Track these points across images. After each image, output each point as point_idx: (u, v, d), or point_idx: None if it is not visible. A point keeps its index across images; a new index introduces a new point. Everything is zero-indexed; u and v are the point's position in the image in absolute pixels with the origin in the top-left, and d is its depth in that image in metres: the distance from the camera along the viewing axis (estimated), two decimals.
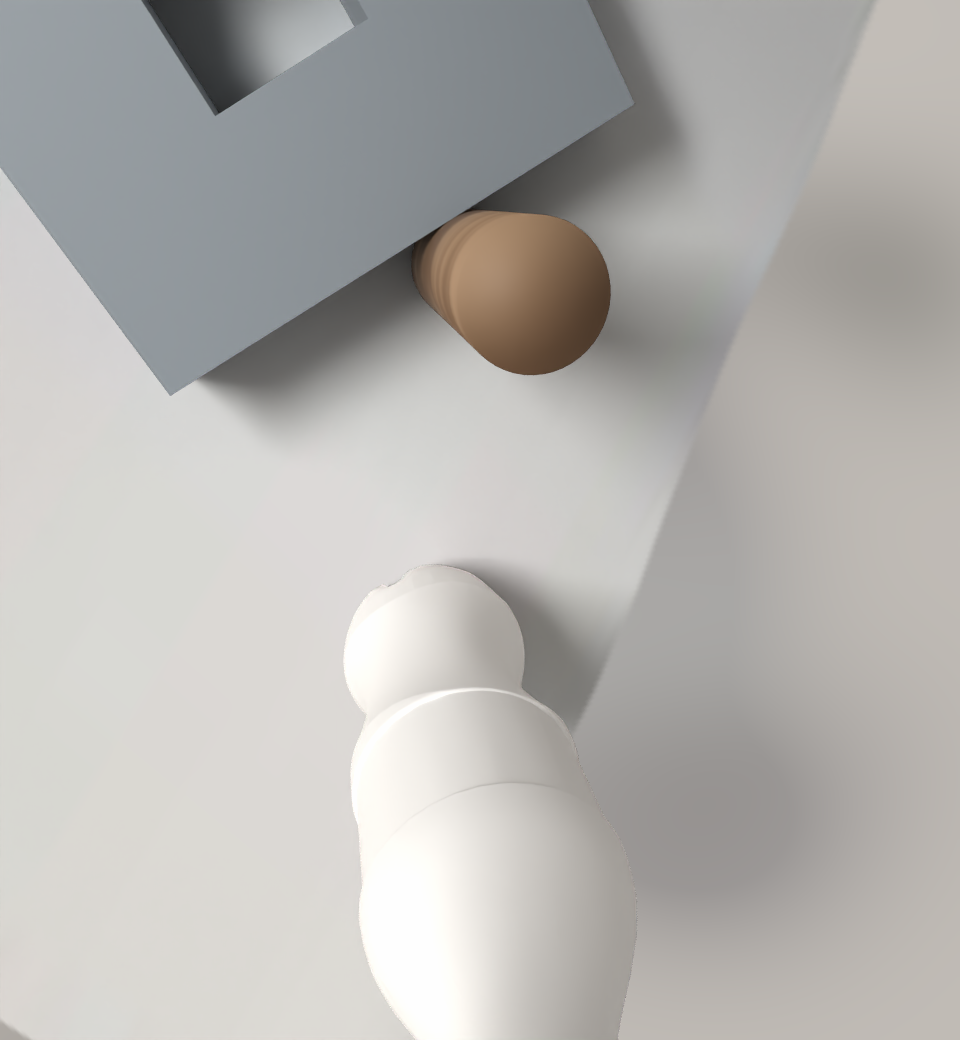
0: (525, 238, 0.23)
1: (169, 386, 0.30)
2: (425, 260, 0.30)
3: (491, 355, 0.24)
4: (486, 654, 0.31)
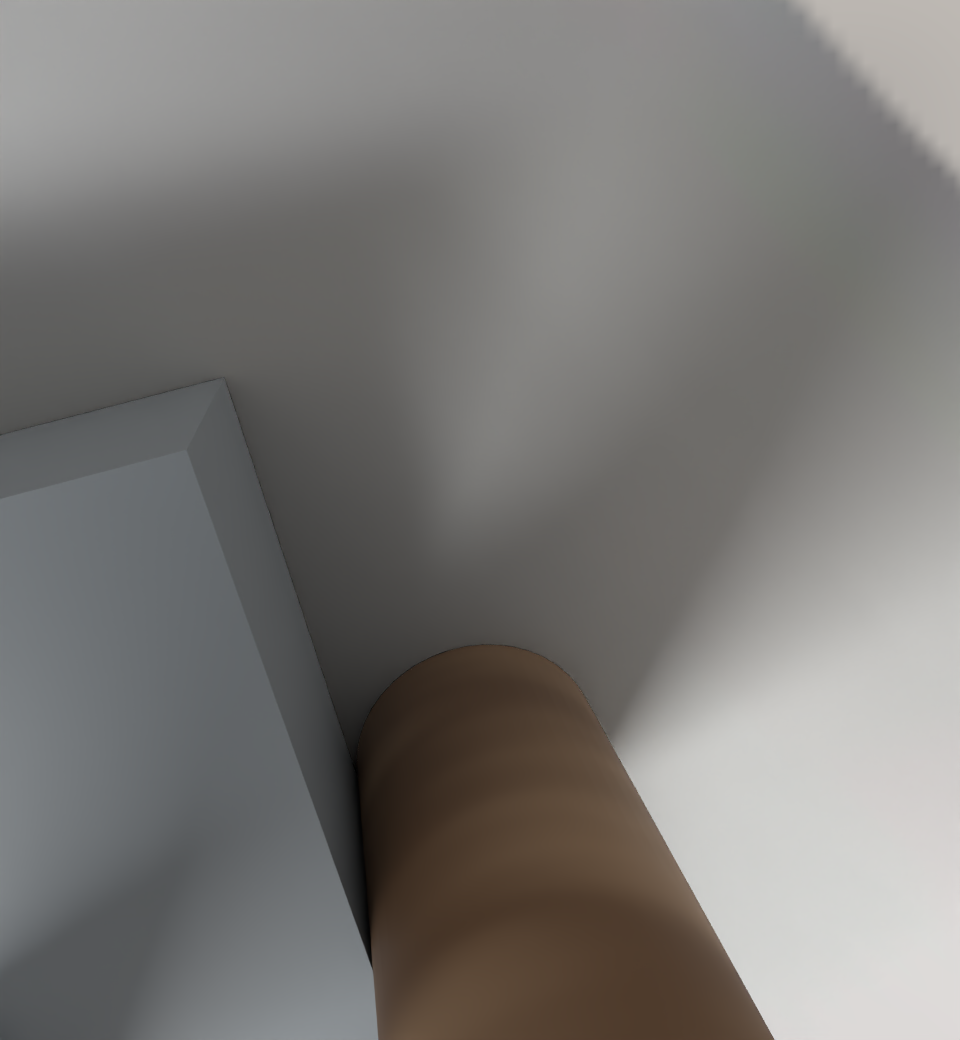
0: None
1: None
2: None
3: None
4: None
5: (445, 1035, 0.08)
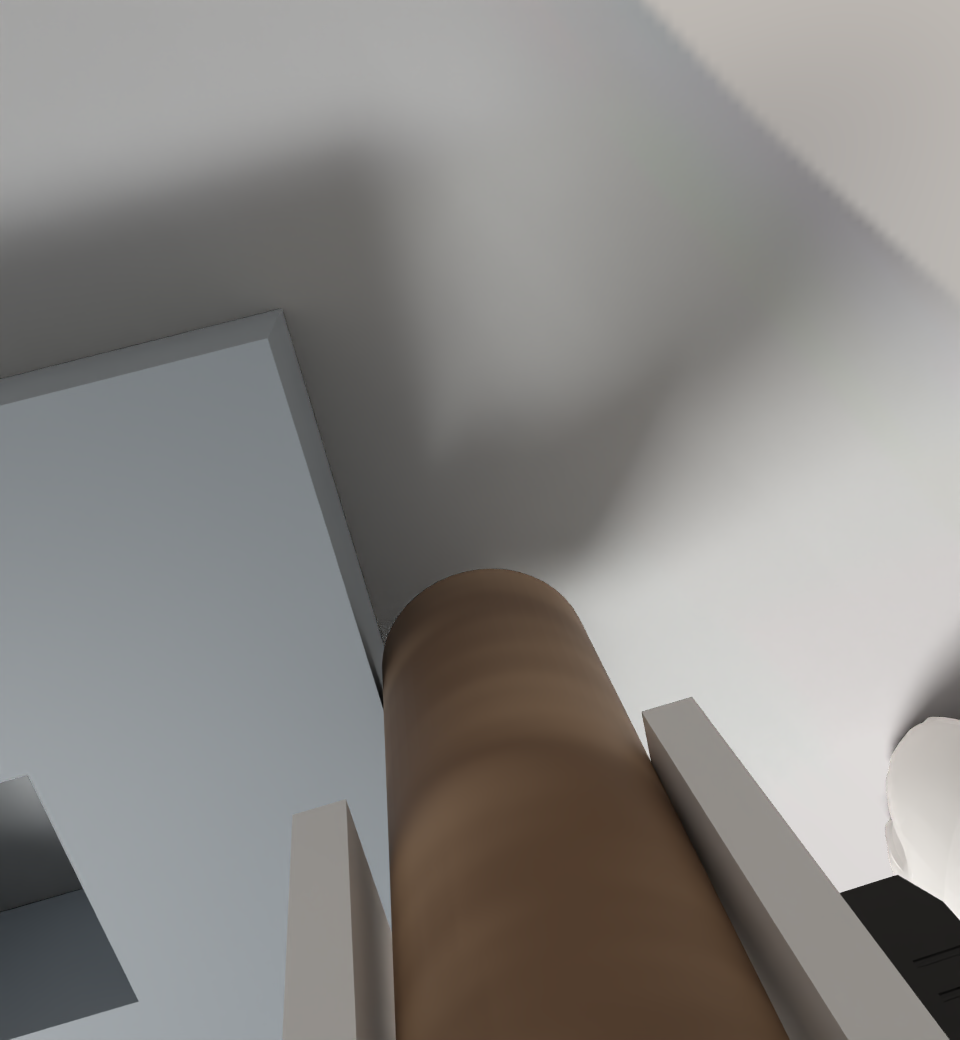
0: None
1: None
2: None
3: None
4: None
5: (438, 831, 0.11)
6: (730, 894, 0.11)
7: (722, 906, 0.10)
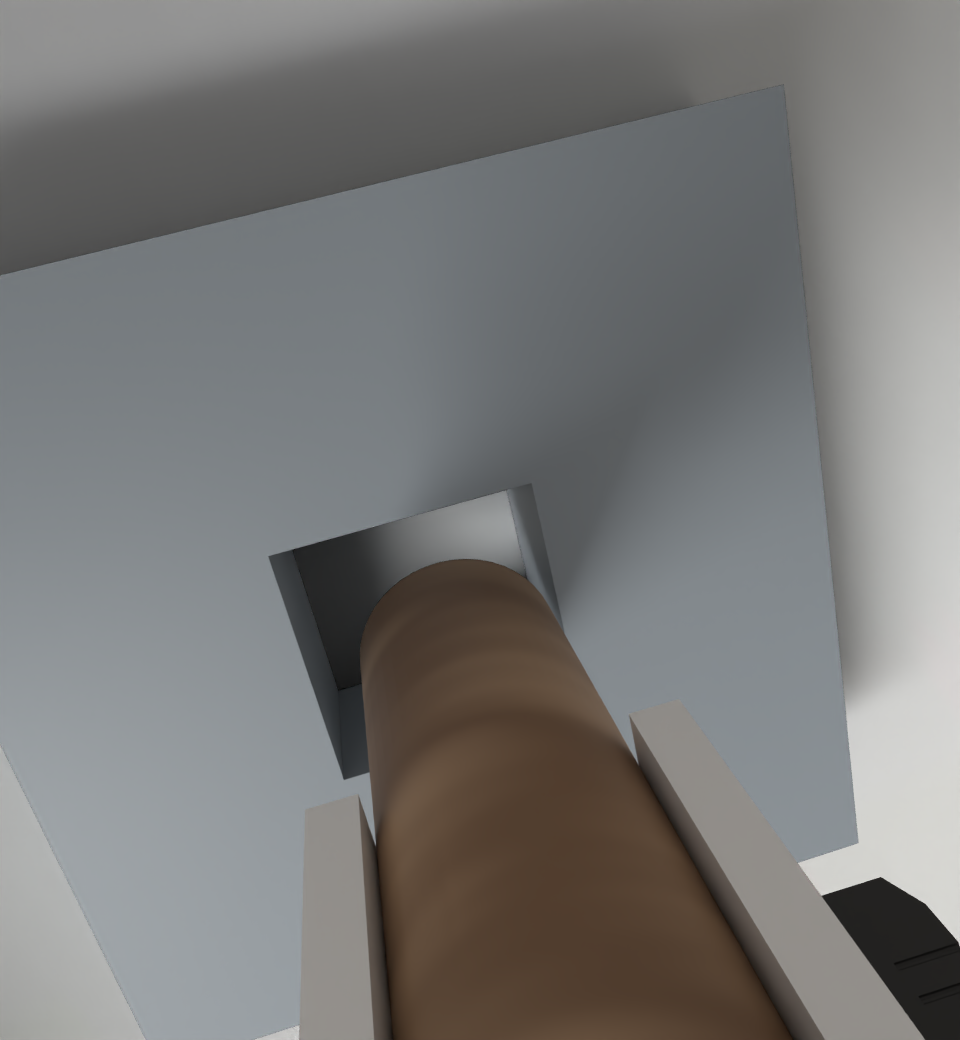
0: None
1: (848, 841, 0.23)
2: None
3: None
4: None
5: (425, 797, 0.12)
6: (714, 896, 0.11)
7: (690, 858, 0.11)
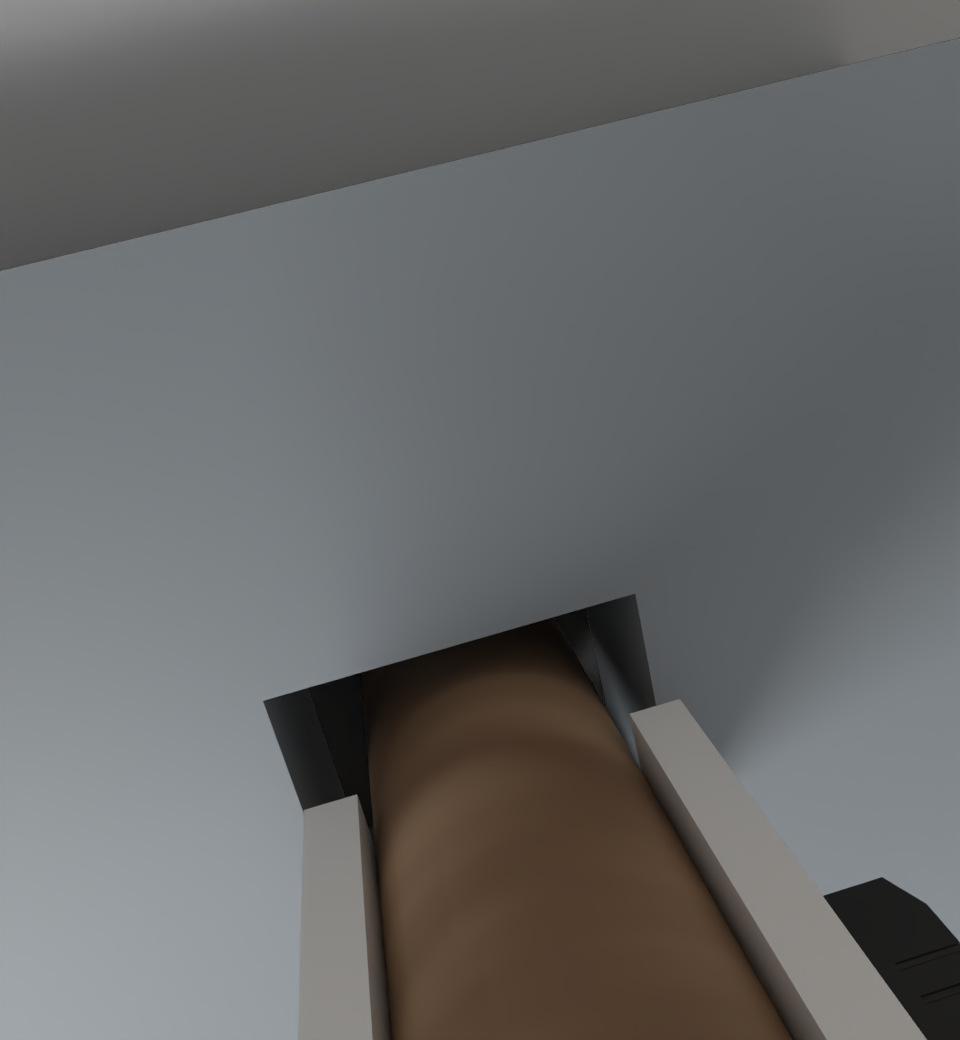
0: None
1: None
2: None
3: None
4: None
5: (429, 829, 0.11)
6: (716, 896, 0.11)
7: (711, 895, 0.11)
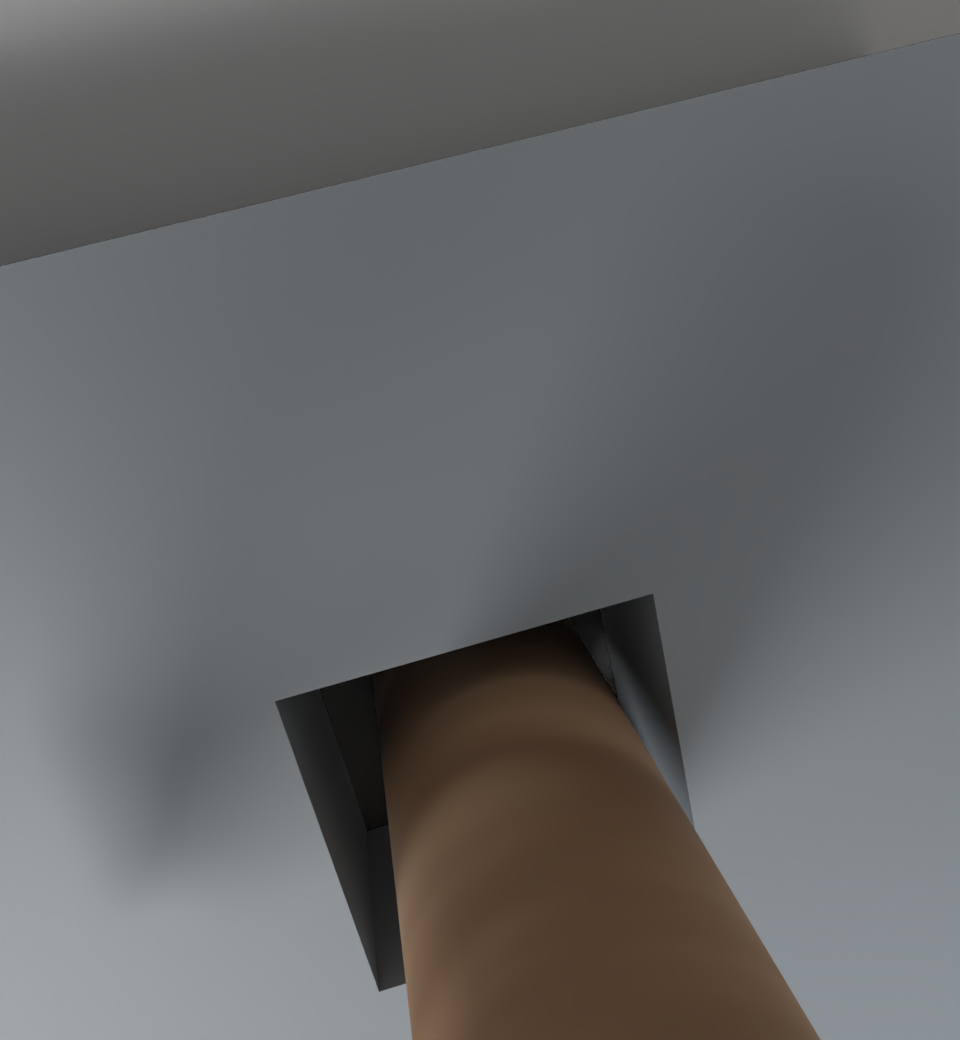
0: None
1: None
2: None
3: None
4: None
5: (450, 834, 0.11)
6: None
7: (738, 903, 0.10)
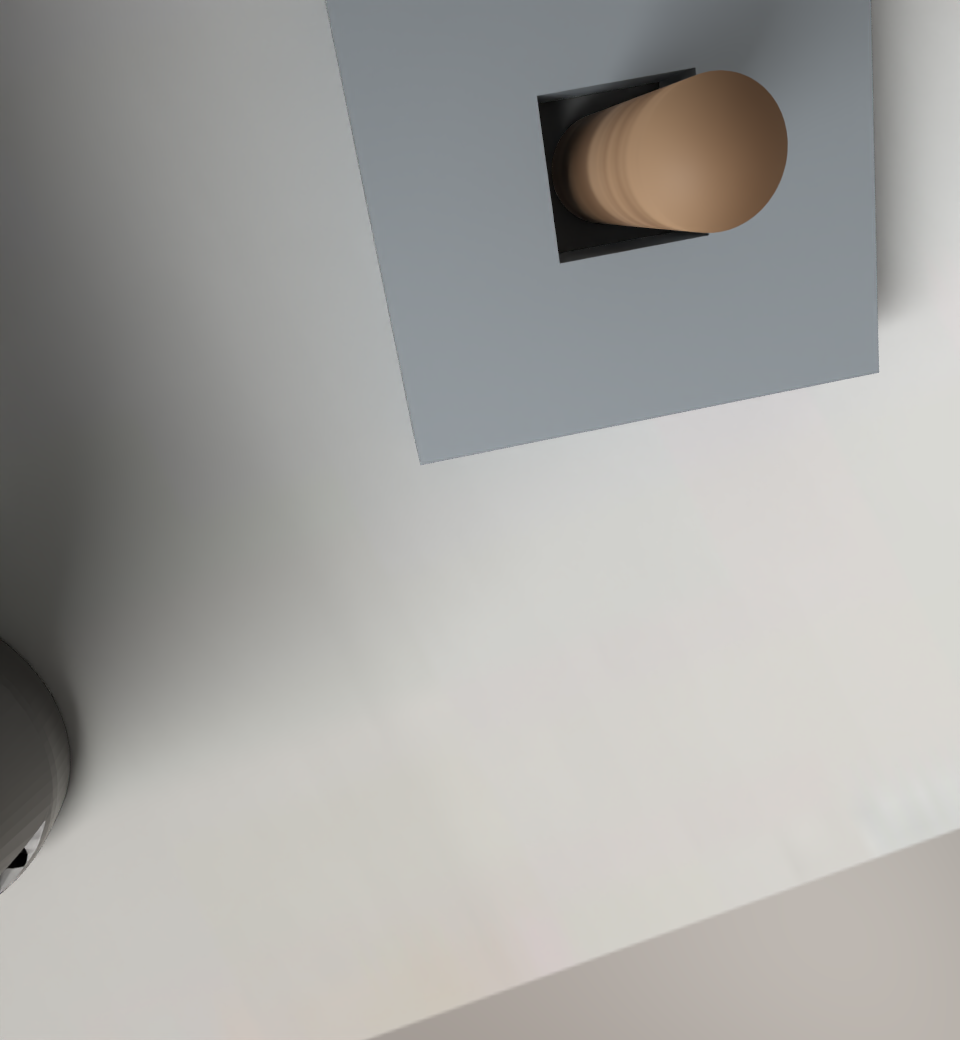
0: (663, 142, 0.24)
1: (872, 369, 0.35)
2: (599, 215, 0.32)
3: (743, 216, 0.25)
4: None
5: (615, 110, 0.29)
6: None
7: None
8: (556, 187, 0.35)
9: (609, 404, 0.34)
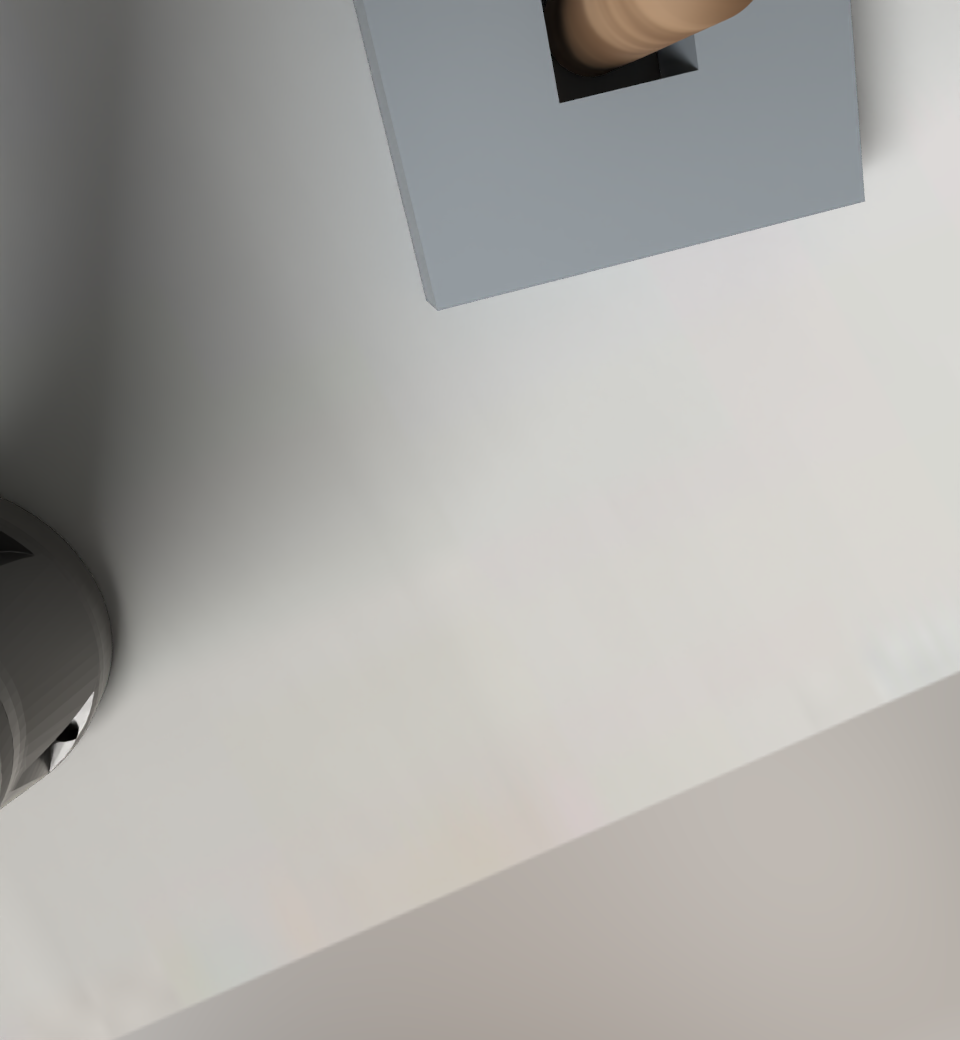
0: None
1: (858, 198, 0.37)
2: (595, 52, 0.33)
3: (737, 7, 0.27)
4: None
5: None
6: None
7: None
8: (549, 41, 0.37)
9: (613, 243, 0.36)
